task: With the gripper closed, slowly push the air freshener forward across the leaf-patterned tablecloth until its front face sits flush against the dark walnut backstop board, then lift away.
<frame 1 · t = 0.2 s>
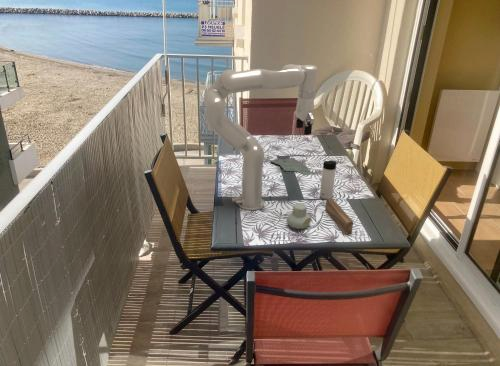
hand: (303, 130, 191), 36 cm above the table, tool pointing down, fingers open, 9 cm apart
decorative slab: (291, 167, 247), on the table
air freshener: (298, 225, 185), on the table
travel mug: (325, 198, 210), on the table
board: (337, 221, 189), on the table
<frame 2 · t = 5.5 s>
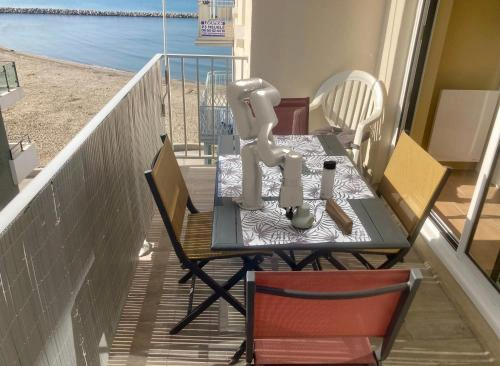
hand: (289, 218, 182), 4 cm above the table, tool pointing down, fingers closed
air freshener: (301, 225, 186), on the table, touching gripper
everything else where it was.
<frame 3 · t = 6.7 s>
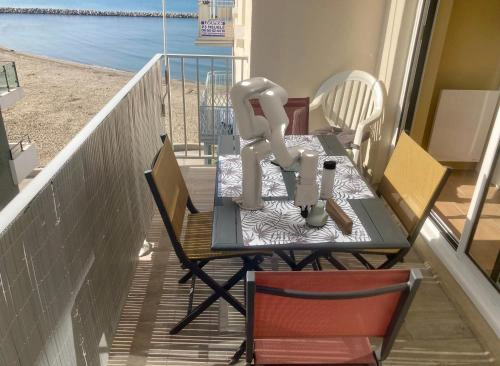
hand: (304, 216, 184), 4 cm above the table, tool pointing down, fingers closed
air freshener: (315, 223, 187), on the table, touching gripper
everything else where it was.
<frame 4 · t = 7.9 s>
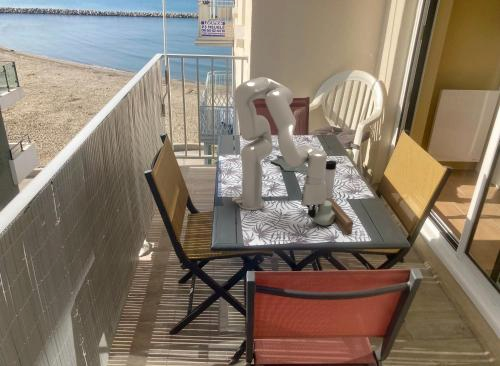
hand: (311, 216, 185), 4 cm above the table, tool pointing down, fingers closed
air freshener: (322, 222, 188), on the table, touching board, gripper
everything else where it was.
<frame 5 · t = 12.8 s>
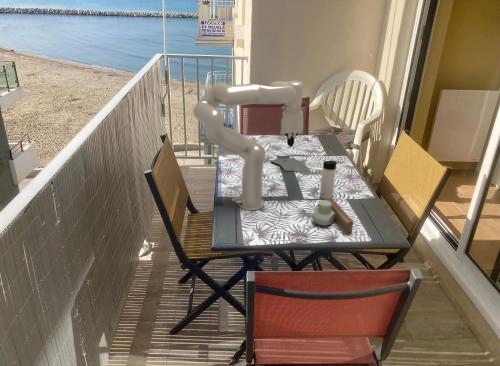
hand: (290, 145, 200), 27 cm above the table, tool pointing down, fingers closed
air freshener: (322, 222, 188), on the table
everything else where it was.
at the end: air freshener inside the target area on the table beside the board (1.0 cm from its centre), on the table; air freshener tilted 0°; air freshener moved 12.0 cm from its start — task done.
